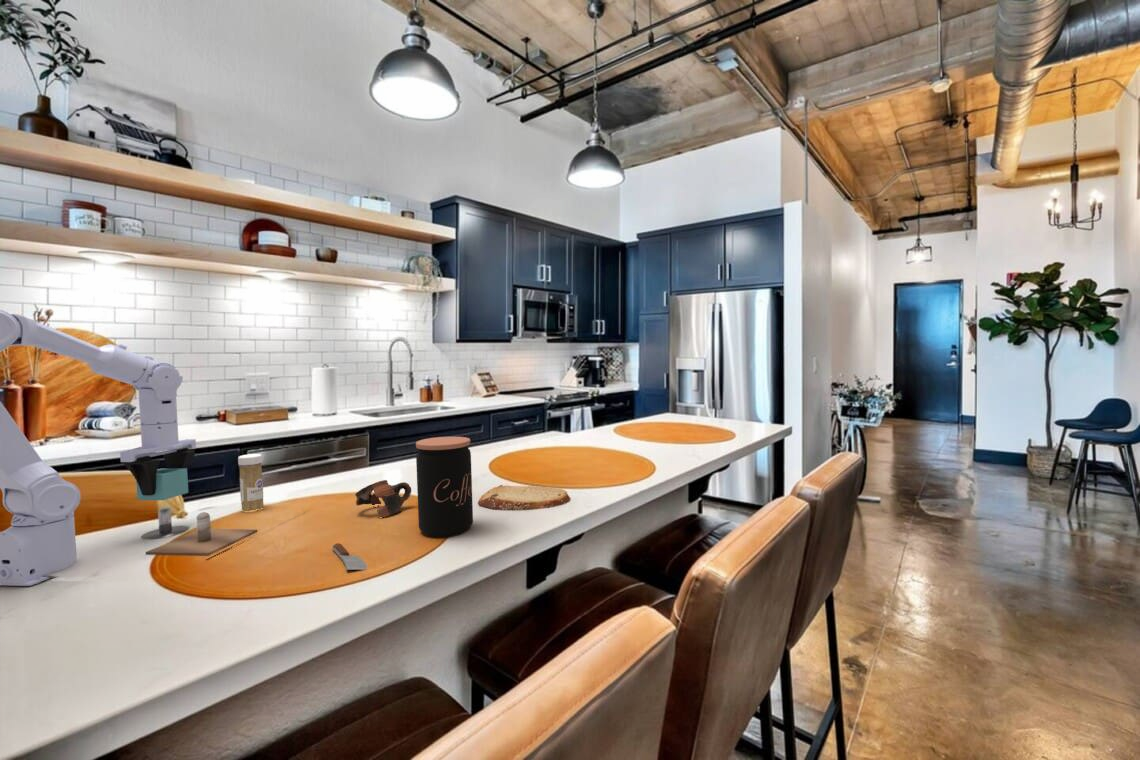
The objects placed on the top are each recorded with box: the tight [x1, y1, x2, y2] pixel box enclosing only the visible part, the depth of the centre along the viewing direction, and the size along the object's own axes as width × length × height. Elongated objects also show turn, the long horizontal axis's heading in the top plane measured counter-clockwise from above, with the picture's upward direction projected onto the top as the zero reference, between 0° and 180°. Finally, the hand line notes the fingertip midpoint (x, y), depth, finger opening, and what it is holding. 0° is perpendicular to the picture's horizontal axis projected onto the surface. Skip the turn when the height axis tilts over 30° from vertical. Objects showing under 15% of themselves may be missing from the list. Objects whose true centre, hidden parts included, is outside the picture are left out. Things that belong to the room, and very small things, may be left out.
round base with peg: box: [140, 507, 190, 540], centre depth 100 cm, size 8×8×6 cm
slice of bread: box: [477, 484, 571, 511], centre depth 119 cm, size 18×18×4 cm
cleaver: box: [332, 543, 368, 571], centre depth 87 cm, size 13×2×5 cm
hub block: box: [145, 511, 258, 561], centre depth 94 cm, size 12×12×6 cm
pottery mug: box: [354, 479, 412, 518], centre depth 114 cm, size 12×10×8 cm
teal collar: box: [135, 467, 189, 501], centre depth 100 cm, size 6×6×5 cm
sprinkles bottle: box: [237, 453, 265, 511], centre depth 114 cm, size 5×5×14 cm
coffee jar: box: [415, 436, 474, 538], centre depth 100 cm, size 11×11×18 cm
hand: (163, 490), depth 100 cm, fingers closed on teal collar, 6 cm apart
